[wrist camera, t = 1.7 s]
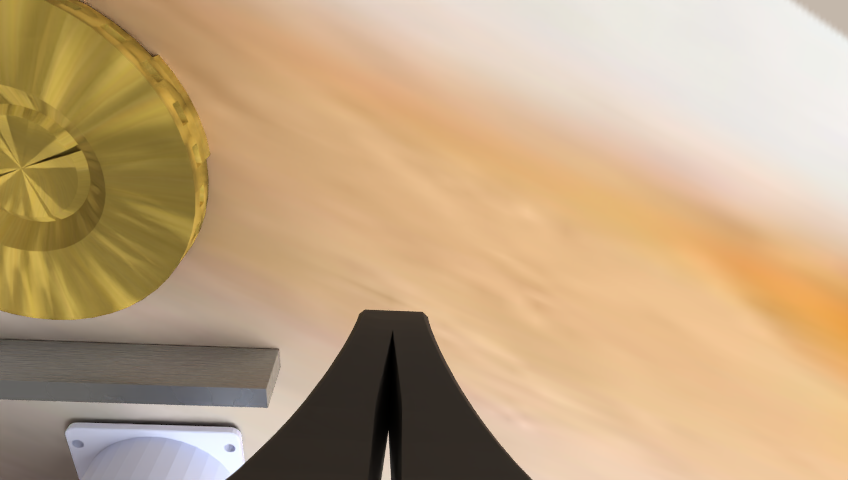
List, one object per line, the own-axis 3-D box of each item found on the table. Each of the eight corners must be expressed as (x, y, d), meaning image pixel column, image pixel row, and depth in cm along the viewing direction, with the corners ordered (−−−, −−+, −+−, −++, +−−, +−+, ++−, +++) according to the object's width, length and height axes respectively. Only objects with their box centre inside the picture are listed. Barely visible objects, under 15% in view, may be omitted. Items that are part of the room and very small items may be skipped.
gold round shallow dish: (-146, 210, 22) (-199, 236, 20) (-111, -106, 17) (-177, -112, 15) (160, 330, 25) (139, 363, 23) (262, 88, 20) (246, 103, 18)
